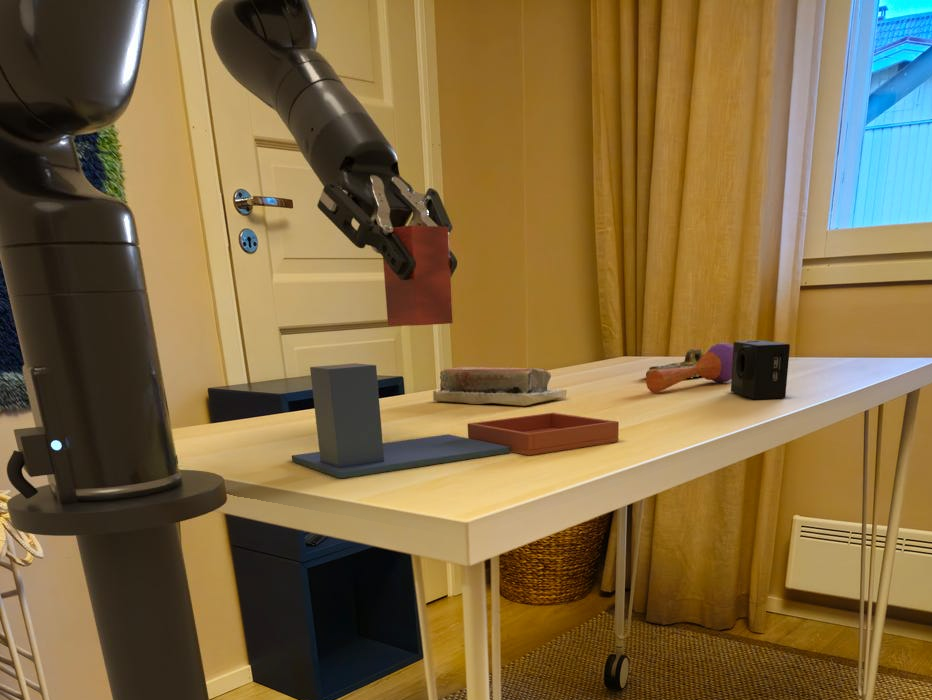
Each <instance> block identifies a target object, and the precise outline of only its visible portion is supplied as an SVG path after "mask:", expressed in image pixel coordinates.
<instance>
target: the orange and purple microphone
mask: <svg viewBox="0 0 932 700" xmlns="http://www.w3.org/2000/svg"><path fill="white" fill-rule="evenodd" d="M733 346H734V345H733V344H731V343H729V342H719V343H716V344H714V345H713V346H710V347H709V349H708V350H707V352H705V353H704V354H703V356H702V357H701V358H700V360H699V361H698V363H697V364H696V366H695V367H683V368H671V369H659V370H652V371H650V372H649V373H648V374H647V377H646V376H645V384H646V387H647V389H648V390H649V392H651V393H653V394H658V393H660V392H662V391H664V390H667V389H668V388H671V387H672V386H675V385H676V384H679V383H681V382H683V381H685V380H688V379H687V378H689V377H691V376H693V375H695V374H698V375H699V376H701V377H700V378H703V379H705V380H707V381H713V382H714V383H719V382H723V383H727V382H729V381H731V379H732V363H733ZM726 381H727V382H726Z"/></svg>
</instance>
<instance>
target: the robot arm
mask: <svg viewBox="0 0 932 700" xmlns="http://www.w3.org/2000/svg"><path fill="white" fill-rule="evenodd" d="M149 7H150V0H0V263H1V269H2V273H3V276H4V277H3V278H4V281H5V287H6V289H7V290H6V291H7V294H8V299H9V302H10V308H11V310H12V311H11V312H12V316H13V320H14V325H15V329H16V332H17V337H18V338H17V339H18V342H19V347H20V350H21V354H22V360H23V365H22V375H23V379H24V384H25V387H26V388H25V389H26V392H27V396H28V400H29V404H30V409H31V413H32V418H33V421H34V427H24V428H14V429H13V434H14V437H15V442H16V446H17V450H15V449H14V450H13V452H12V454H11V455H10V458H9V459H8V462H7V464H6V475H7V478H8V480H9V482H10V484H11V485H12V486H13V488H14V489H16V491H18V492H19V494H20V493H21V494H22V495H23V496H24V497H25V498H26V499H28V498H31V497H32V496H34V495H35V494H37V493H38V491H37V489H36V488H37V487H35V486H34V485H33V484H32V483H31V482H29V481H28V480H27V478H26V477H25V476H24V474H23V470H24V471H25V472H26V473H27V475H28V477H30V478H34V477H35V478H36V477H42V476H43V477H44V476H46V477H47V482H48V485H49V487H50V491H51V493H52V494H53V496H54V498H55V499H57V500H58V501H59V503H60V504H70V503H79V502H103V501H115V500H124V499H131V498H138V497H143V496H149V495H153V494H158V493H162V492H165V491H168V490H171V489H174V488H176V487H178V486H180V485H181V484H182V477H181V471H180V470H181V468H179V459H178V455H177V451H176V445H175V439H174V434H173V428H172V427H173V426H172V423H171V417H170V412H169V405H168V400H167V399H168V398H167V395H166V394H167V393H166V390H165V389H166V388H165V383H164V377H163V372H162V365H161V362H160V361H161V360H160V354H159V349H158V343H157V337H156V331H155V326H154V321H153V315H152V309H151V304H150V303H151V302H150V297H149V294H148V293H149V292H148V286H147V281H146V273H145V268H144V263H143V257H142V252H141V247H140V239H139V233H138V228H137V227H138V226H137V223H136V218H135V215H134V213H133V210H132V208H131V207H130V206H129V204H128V203H126V202H124V201H123V200H122V199H119V198H117V197H115V196H111V195H109V194H107V193H104V192H102V191H100V190H99V189H97V188H96V187H94V185H93V184H92V183H90V181H89V180H88V179H87V178H86V176H85V174H84V171H83V168H82V165H81V162H80V159H79V156H78V152H77V148H76V144H75V141H74V137H78V136H84V135H89V134H93V133H96V132H99V131H103V130H105V129H107V128H109V127H111V126H112V125H114V124H115V123H116V122H118V120H119V119H121V117H122V116H123V115H124V114H125V113H126V111H127V109H128V108H129V106H130V103H131V101H132V97H133V95H134V92H135V89H136V84H137V82H138V77H139V72H140V66H141V60H142V56H143V55H142V54H143V47H144V40H145V34H146V28H147V22H148V14H149ZM209 30H210V35H211V36H210V37H211V41H212V44H213V47H214V50H215V52H216V55H217V57H218V58H219V60H220V62H221V64H222V65H223V67H224V68H225V69H226V71H227V72H228V73H229V75H230V76H232V78H233V79H234V80H235V81H236V82H237V83H239V84H240V85H241V86H242V87H243V88H244V89H246V90H247V91H248V92H249V93H251V94H252V95H253V96H255V97H256V98H257V99H259V100H260V101H262V102H263V103H264V104H265V105H266V106H268V107H269V108H271V110H274V111H275V112H276V113H277V115H278V116H279V118H280V119H281V121H282V122H283V124H284V125H285V127H286V128H287V130H288V131H289V133H290V134H291V136H292V137H293V138H294V141H295V143H296V145H297V147H298V149H299V152H300V153H301V155H302V156H303V158H304V159H305V160H306V162H307V164H308V165H309V167H310V168H311V170H312V171H313V173H314V174H315V175H316V177H317V178H318V180H319V182H320V183H321V185H322V186H323V189H322V192H321V194H320V196H319V199H318V202H317V205H316V206H317V209H319V210H320V211H321V213H323V215H324V216H325V217H326V218H328V220H330V222H331V223H332V224H333V225H334V226H335V227H336V228H337V229H338V230H339V231H340V232H341V233H342V234H343V235H344V236H345V237H346V238H347V239H348V240H349V241H350V243H352V244H353V245H354V246H355V247H357V248H359V249H365V247H366V246H369V247H371V249H372V250H373V251H374V252H375V253H377V254H380V255H381V256H382V259H383V258H384V259H385V261H386V262H387V264H388V265H389V267H390V268H391V270H392V271H393V272H394V273H396V274H397V276H398V277H399V279H400V280H409V279H410V277H411V275H412V273H413V271H414V269H415V267H416V261H415V259H414V258H413V256H412V255H411V253H410V252H409V251H408V249H407V248H406V246H405V245H404V243H403V242H402V240H401V239H400V237H399V236H398V235H397V234H392V233H393V228H397V227H404V226H411V225H415V226H441V227H448V235H449V236H450V234H451V232H452V230H453V225H452V222H451V220H450V218H449V217H450V216H449V214H448V213H447V211H446V208H445V205H444V204H443V201H442V199H441V196H440V194H439V192H438V191H437V190H436V189H434V188H433V187H432V188H431V187H428V189H427V191H426V192H425V194H424V193H420V192H417V191H414V188H413V187H412V185H411V184H410V183H408V181H406V180H405V179H404V178H403V177H402V176H401V174H400V168H399V161H398V156H397V154H396V151H395V149H394V147H393V146H392V145H391V143H390V142H389V140H388V139H387V138H386V136H385V134H383V132H382V131H381V130H380V128H379V127H378V125H377V124H376V122H375V120H374V119H373V118H372V116H370V114H369V112H368V110H366V108H365V107H364V106H363V105H362V103H361V102H360V100H359V99H358V98H357V97H356V96H355V95H354V94H353V93H352V92H351V91H350V90H349V88H347V86H346V85H345V84H344V82H343V81H342V80H341V78H340V76H339V75H338V73H337V72H336V71H335V69H334V68H333V67H332V65H331V64H330V62H329V61H328V60H327V59H326V58H325V56H324V55H322V53H320V52H319V51H317V49H318V43H319V33H318V32H319V31H318V26H317V22H316V19H315V15H314V12H313V9H312V7H311V4H310V2H309V0H221V1H219V2H218V3H217V4H216V6H215V7H214V9H213V11H212V14H211V18H210V29H209ZM410 218H411V219H410ZM353 219H354V220H355V221H356V223H358V228H357V229H356V228H355V227H354V226H353V223H352V222H353ZM408 222H409V223H408ZM407 224H408V225H407ZM449 256H450V277H451V278H452V277H453V275H454V273H455V271H456V270H457V267H458V259H457V257H456V256H455V254H454V253H453V251H452V250H451V248H449Z"/></svg>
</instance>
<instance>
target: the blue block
mask: <svg viewBox="0 0 932 700" xmlns="http://www.w3.org/2000/svg"><path fill="white" fill-rule="evenodd" d="M309 372H310V380H311V389H312V398H313V406H314V407H313V408H314V415H315V416H314V417H315V424H316V433H317V442H318V452H320V461H321V462H324V463H327V464H329V465H332V466H335V467H338V468H343V467H350V466H357V465H363V464H370V463H377V462H384V452H383V443H384V442H383V430H382V429H383V427H382V419H381V417H382V416H381V406H380V405H381V404H380V395H379V381H378V371H377V365H376V364H367V363H358V362H357V363H356V362H355V363H344V364H343V363H342V364H330V365H318V366H317V365H316V366H310V367H309Z"/></svg>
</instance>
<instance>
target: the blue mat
mask: <svg viewBox="0 0 932 700" xmlns="http://www.w3.org/2000/svg"><path fill="white" fill-rule="evenodd" d="M383 452H384V462H377V463H370V464H363V465H357V466H350V467H343V468H338V467H335V466H332V465H329V464H327V463H324V462H321V461H320V452H319V451H314V452H306V453H305V452H304V453H298V454H291V461H292V462H293V463H296V464H298V465H301V466H305V467H307V468H309V469H313V470H316V471H317V472H321V473H324V474H326V475H330V476H332V477H335V478H338V479H347V478H353V477H359V476H360V477H361V476H367V475H371V474H373V475H374V474H379V473H386V472H387V473H388V472H394V471H400V470H407V469H412V468H419V467H420V468H421V467H426V466H432V465H439V464H446V463H452V462H453V463H454V462H458V461H459V462H460V461H466V460H472V459H478V458H479V459H480V458H484V457H493V456H499V455H506V454H509V453H511V452H510V447H508V446H503V445H498V444H493V443H488V442H483V441H478V440H473V439H469V438H468V437H463V436H459V435H455V434H454V435H453V434H449V433H447V434H440V435H433V436H425V437H418V438H410V439H403V440H396V441H389V442H388V441H387V442H383Z"/></svg>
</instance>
